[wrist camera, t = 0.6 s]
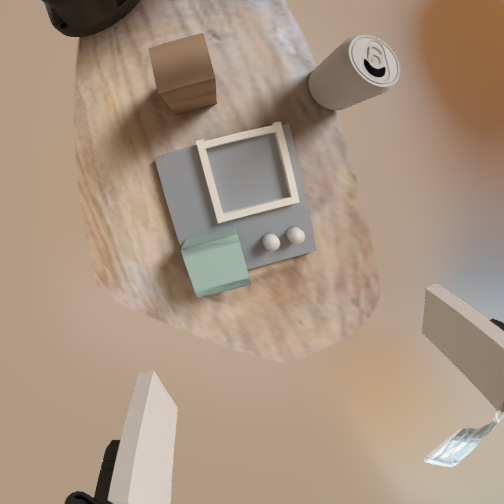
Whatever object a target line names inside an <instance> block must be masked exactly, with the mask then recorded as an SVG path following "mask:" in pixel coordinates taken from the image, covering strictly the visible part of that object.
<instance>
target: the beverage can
mask: <svg viewBox="0 0 504 504" xmlns="http://www.w3.org/2000/svg"><path fill="white" fill-rule="evenodd" d="M399 76H400V65H399V61H398V59H397V56H396V55H395V53H394V51H393V50H392V49H391V48H390V47H389V46H388V45H387V44H386V43H385V42H383V41H382V40H380V39H378V38H377V37H374V36H370V35H361V36H355V37H351V38H349V39H347V40H346V41H345V42H344V43H342V44H341V45H340V46H339V47H338V48H337V49H336V50H335V51H334V52H333V53H331V55H329V56H328V57H327V58H326V59H325V60H324V61H323V62H322V63H321V64H320V65H319V66H318V67H317V68H316V69H315V70H314V71H313V72H312V73H311V75H310V77H309V90H310V93H311V95H312V96H313V98H314V99H315V100H316V101H317V102H318V103H319V104H320V105H321V106H323V107H325V108H327V109H330V110H342V109H345V108H348V107H350V106H352V105H354V104H357V103H360V102H362V101H364V100H367V99H369V98H372V97H374V96H377V95H380V94H382V93H385V92H387V91H389V90H390V89H391V88H392V87H393V86H394V83H396V82H397V81H398V79H399Z"/></svg>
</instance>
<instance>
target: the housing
mask: <svg viewBox="0 0 504 504" xmlns="http://www.w3.org/2000/svg"><path fill="white" fill-rule="evenodd" d="M181 253H182V256H183V259H184V262H185V265H186V268H187V271H188V274H189V277H190V280H191V282H192V285H193V288H194V291H195V294H196V297H197V298H201V297H205V296H209V295H213V294H216V293H220V292H224V291H228V290H232V289H236V288H239V287H243V286H247V285H250V284H251V282H250V278H249V274H248V271H247V267H246V263H245V260H244V256H243V252H242V249H241V245H240V241H239V238H238V234H237V230H236V226H235V225H234V226H230V227H226V228H223V229H219V230H215V231H212V232H208V233H205V234H201V235H198V236H194V237H190V238H187V239H186V240H185V242H184V244H183V246H182V248H181Z"/></svg>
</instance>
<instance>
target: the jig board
mask: <svg viewBox="0 0 504 504" xmlns="http://www.w3.org/2000/svg"><path fill="white" fill-rule="evenodd" d="M196 143H197V145H194V146H191V147H188V148H184V149H181V150H178V151H174V152H171V153H168V154H165V155H162V156H159V157H156V158H155V162H156V166H157V169H158V173H159V177H160V181H161V184H162V188H163V191H164V195H165V198H166V202H167V205H168V209H169V212H170V215H171V219H172V222H173V225H174V228H175V232H176V235H177V238H178V241H179V244H180V247H181V248H182V246H183V244H184V242H185V240H186V239H187V238H190V237H194V236H198V235H201V234H205V233H208V232H212V231H215V230H219V229H223V228H226V227H230V226H234V225H235V226H236V230H237V234H238V238H239V241H240V245H241V249H242V252H243V256H244V260H245V263H246V267H247V270H248V269H252V268H256V267H259V266H263V265H267V264H270V263H274V262H277V261H281V260H285V259H288V258H292V257H296V256H299V255H303V254H306V253H310V252H313V251H316V246H315V240H314V235H313V229H312V224H311V219H310V214H309V209H308V204H307V199H306V194H305V190H304V185H303V180H302V176H301V171H300V167H299V163H298V158H297V154H296V150H295V146H294V142H293V138H292V134H291V130H290V126H289V124H283V125H281V121H279V122H274V123H273V124H272V126H267V127H262V128H257V129H253V130H248V131H244V132H240V133H235V134H231V135H227V136H223V137H219V138H215V139H212V140H208V141H204V140H203V139H202V140H198V141H196Z"/></svg>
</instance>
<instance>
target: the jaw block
mask: <svg viewBox="0 0 504 504" xmlns="http://www.w3.org/2000/svg"><path fill="white" fill-rule="evenodd" d="M149 53H150V58H151V63H152V67H153V72H154V77H155V82H156V86H157V91H158V95H159V96H160V97H161V98H162V99H163V100H164V102H165V103H166V104H167V105H168V106H169V108H170V109H171V110H172V111H173V112H174V113H175V115H178V114H181V113H184V112H188V111H191V110H195V109H198V108H202V107H206V106H210V105H214V104H217V101H216V82H215V75H214V71H213V68H212V64H211V60H210V56H209V53H208V49H207V45H206V41H205V38H204V34H203V33H202V34H198V35H194V36H190V37H186V38H182V39H179V40H175V41H172V42H168V43H165V44H162V45H159V46H156V47H153V48H150V49H149Z"/></svg>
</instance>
